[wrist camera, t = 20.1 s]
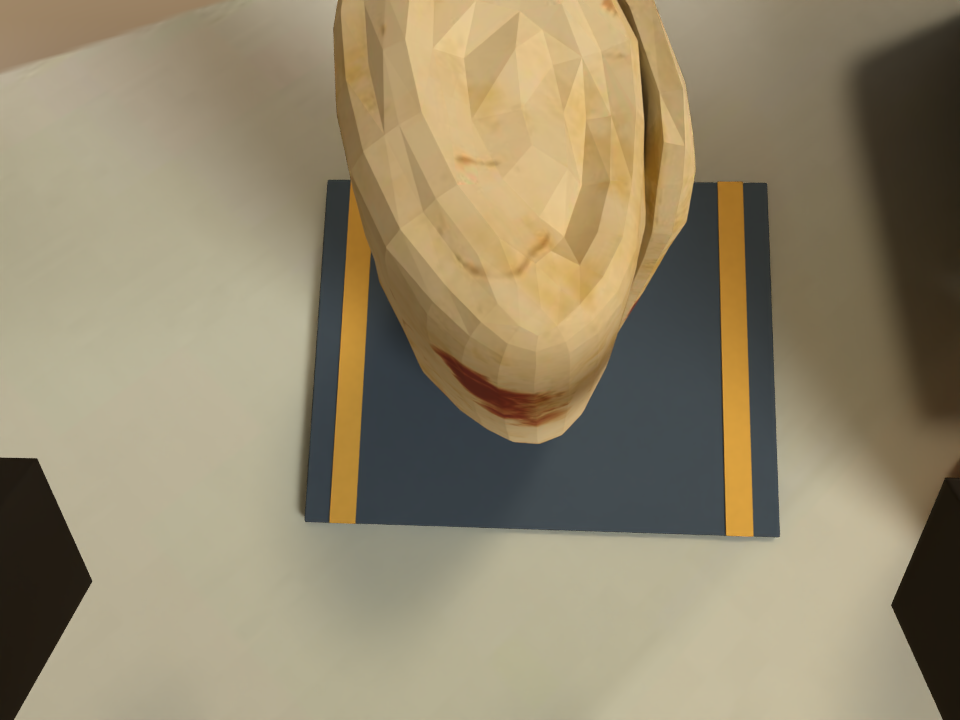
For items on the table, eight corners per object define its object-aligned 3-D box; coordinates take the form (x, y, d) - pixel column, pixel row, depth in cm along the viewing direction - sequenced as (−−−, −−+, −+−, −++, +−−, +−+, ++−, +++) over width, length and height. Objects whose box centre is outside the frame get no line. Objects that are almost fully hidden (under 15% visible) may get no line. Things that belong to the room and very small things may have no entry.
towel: (307, 521, 31) (303, 521, 31) (330, 184, 34) (326, 178, 33) (776, 537, 30) (780, 537, 29) (763, 187, 33) (767, 181, 32)
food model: (406, 244, 32) (225, -157, 13) (565, 203, 32) (630, -263, 13) (463, 478, 31) (352, 434, 11) (631, 436, 30) (825, 315, 11)
